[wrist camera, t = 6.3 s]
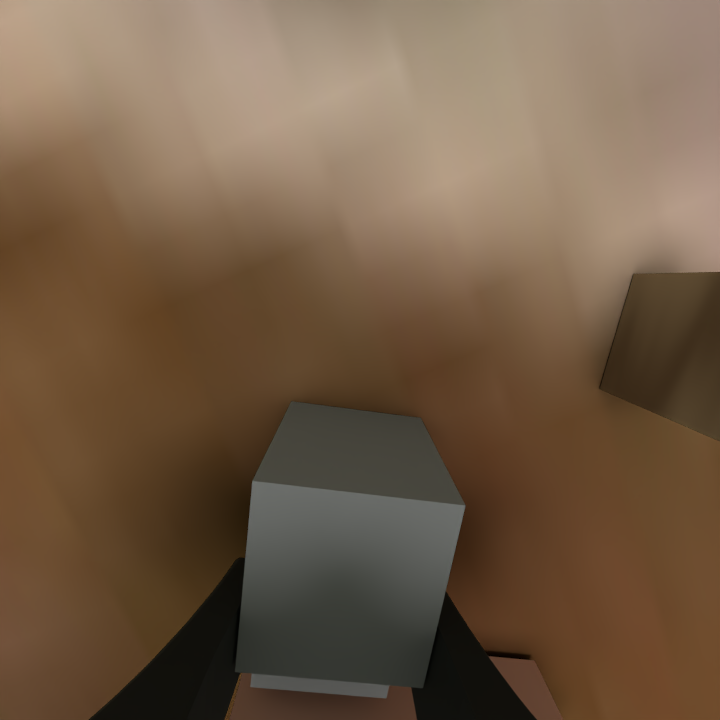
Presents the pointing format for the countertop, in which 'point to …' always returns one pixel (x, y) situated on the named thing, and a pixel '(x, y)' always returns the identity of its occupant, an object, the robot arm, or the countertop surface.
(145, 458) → the countertop surface
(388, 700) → the door
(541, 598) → the countertop surface
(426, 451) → the block
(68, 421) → the countertop surface
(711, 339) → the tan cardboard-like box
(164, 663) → the robot arm
